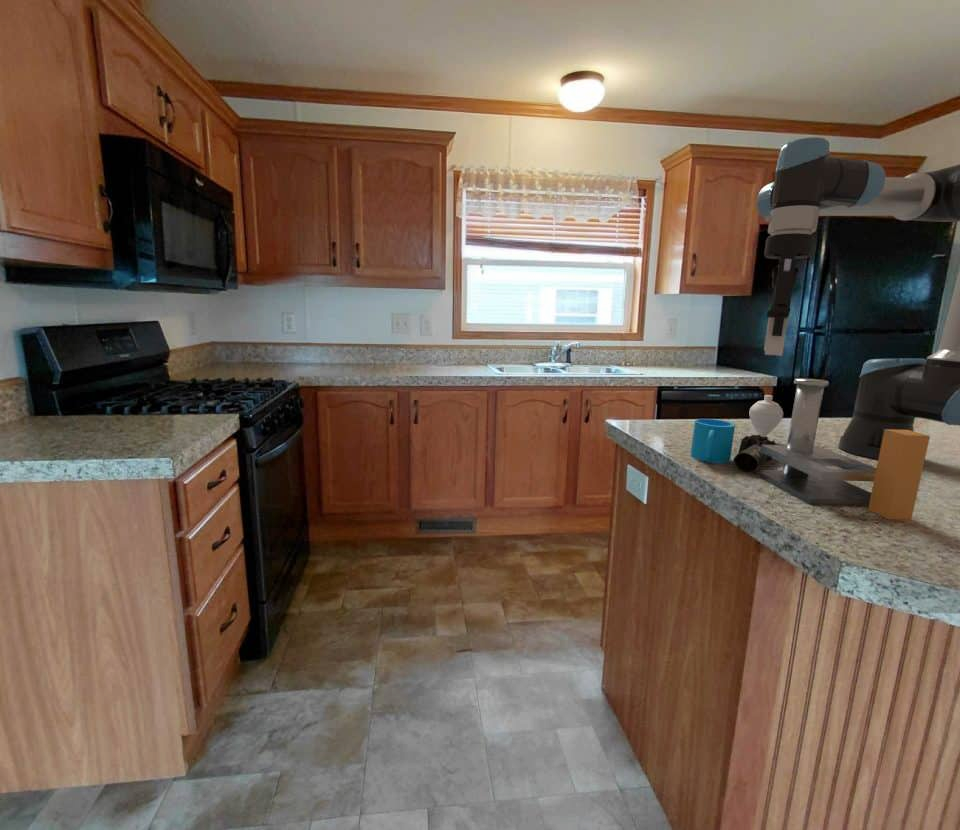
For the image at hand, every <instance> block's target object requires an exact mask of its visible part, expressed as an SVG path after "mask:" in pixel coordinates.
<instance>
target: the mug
mask: <svg viewBox="0 0 960 830" xmlns="http://www.w3.org/2000/svg"><path fill="white" fill-rule="evenodd" d="M735 429H736V425H735V423H733V422H730V421H725V420H721V419H713V418H698V419H695V420H694V426H693V432H692V433H693V434H692V440H691V447H690V457H691V458H692V457H693V459H694V458H695V459H694V460H697V459H698V461H700V460H701V462H704V461H706V462H705V463H710V462H713V463H712V464H728V463H730V462H731V458H732V457H731V456H732V449H733V441H734V435H735Z"/></svg>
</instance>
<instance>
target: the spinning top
mask: <svg viewBox="0 0 960 830" xmlns="http://www.w3.org/2000/svg"><path fill="white" fill-rule="evenodd" d="M763 397H764V398H763V399H764V400H758V401H757V402H755V403H754V404H752V406H751V407H750V408H749V412H748V413H749V419H750V421H751V424H752V426H753V427H754V429H755V431H756V433H757V435H760V436H763V437H766V436H768V435H769V434H770V433H771V432H773V430H774V429H776V427H778V425H779V424H780V423H781V422H782V420H783V417H784V411H783V408H782V407H781V406H780V404H779V403H777V402H775V401H774V400H773V397H774V396H773V395H769V394H765V395H764V396H763Z"/></svg>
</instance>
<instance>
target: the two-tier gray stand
mask: <svg viewBox="0 0 960 830" xmlns="http://www.w3.org/2000/svg"><path fill="white" fill-rule="evenodd" d="M793 384H795V385H796V389H795V396H794V403H793V406H792V407H793V408H792V414H791V421H790V425H789V431H788V437H787V442H786V443H787V445H784V444H783V445H782V444H779V445H778V444H775V445H761V450H760V452H761V453H764V454H766V455H768V456H770V457H772V459H775V460H777V461H779V462H781V463H783V468H782V470H778V469H775V470H774V469H757V470H756V471H755V472H754V473H755V474H754V475H755V476H757V477H759V478H760V479H763V480H764V481H766V482H768V483H770V484H772V485H773V486H775V487H777V488H779V489H781V490H782V491H784V492H786V493H788V494H790V495H791V496H793V497H795V498H797V499H798V500H801V501H803V502H804V503H806V504H808V505H832V506H833V505H836V506H838V505H839V506H841V505H842V506H843V505H844V506H850V505H852V506H869V503H870V498H871V493H872V491H871V492H870V491H868V490H866V489H863V488H861V487H860V486H857V485H855V484H852V483H849V482H874V478H875V473H876V469H877V467H874V466H871V465H870V464H867V463H864V462H861V461H858V460H856V459H853V458H851V457H849V456H848V457H847V456H846V455H842V454H840V453H838V452H835V451H832V450H829V449H827V448H824V447H821V446H819V445H815V440H816V436H817V429H818V425H819V417H820V412H821V407H822V402H823V395H824V391H825V390H824V389H825V387H827V388H828V387H829V384H830V383H829V380H824V379H816V378H799V377H798V378H797V377H796V378H795V377H794V380H793ZM830 467H835V468H830ZM836 467H837V468H836Z"/></svg>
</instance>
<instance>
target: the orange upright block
mask: <svg viewBox="0 0 960 830" xmlns="http://www.w3.org/2000/svg"><path fill="white" fill-rule="evenodd" d="M930 438H931V435H929V434H924V433H921V432H917V431H915V430H914V431H910V430H893V429H884V434H883V439H882V444H881V449H880V454H879V459H877V464H876V465H877V466H876V468H877V469H876V473H875V478H874V481H873V484H872V489H871V498H870V503H869V505H868V507H867V508H868V509H867V510H868V511H869V512H873V513H874V514H877V515H879V516H881V517H883V518H884V519H887V520H912V518H913V513H914V508H915V505H916V501H917V500H916V499H917V497H918V496H917V495H918V491H919V487H920V482H921V479H922V474H923V469H924V465H925V461H926V456H927V451H928V447H929V442H930Z"/></svg>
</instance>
